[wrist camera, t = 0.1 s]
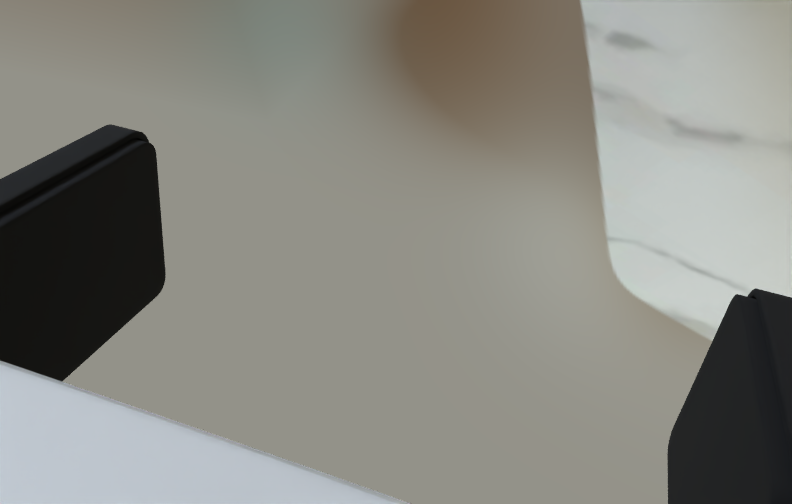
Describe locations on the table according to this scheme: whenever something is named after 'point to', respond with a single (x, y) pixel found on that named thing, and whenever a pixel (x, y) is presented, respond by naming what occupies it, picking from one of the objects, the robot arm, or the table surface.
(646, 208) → the table surface
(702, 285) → the table surface
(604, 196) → the table surface
